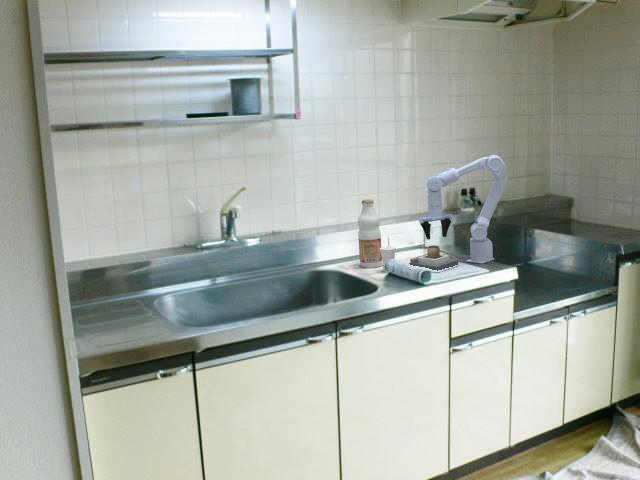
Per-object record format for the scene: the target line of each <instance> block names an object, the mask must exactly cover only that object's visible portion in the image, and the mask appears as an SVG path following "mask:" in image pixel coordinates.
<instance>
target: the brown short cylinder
mask: <svg viewBox="0 0 640 480" xmlns="http://www.w3.org/2000/svg"><path fill="white" fill-rule="evenodd" d="M426 254H427V256H428V258H430V259H437V258H440V255H441V249H440V245H437V244H436V245H429V246H427V248H426Z"/></svg>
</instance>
